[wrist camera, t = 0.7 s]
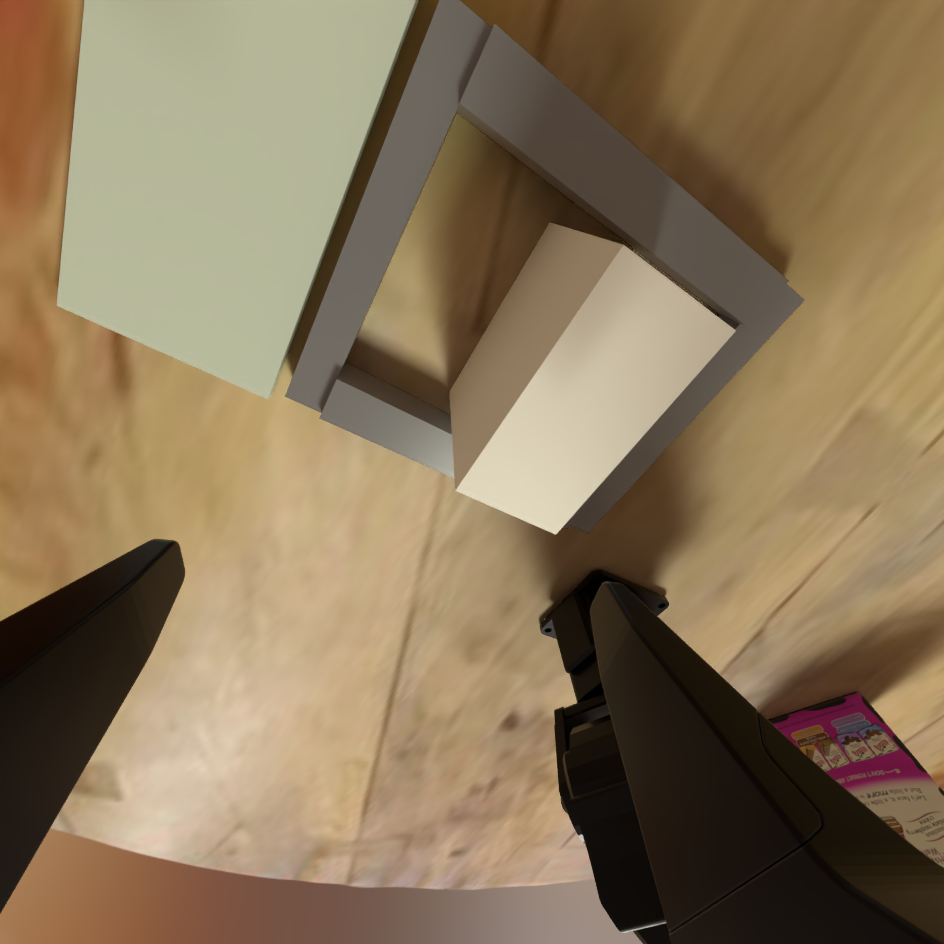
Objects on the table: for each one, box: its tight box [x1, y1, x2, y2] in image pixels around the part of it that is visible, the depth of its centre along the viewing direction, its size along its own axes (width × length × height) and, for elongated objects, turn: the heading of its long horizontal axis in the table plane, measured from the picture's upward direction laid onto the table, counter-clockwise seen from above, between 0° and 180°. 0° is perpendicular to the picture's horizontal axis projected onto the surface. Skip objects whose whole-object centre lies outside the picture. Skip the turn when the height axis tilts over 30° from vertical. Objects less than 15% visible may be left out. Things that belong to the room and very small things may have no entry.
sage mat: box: [57, 0, 419, 399], centre depth 15 cm, size 8×16×1 cm, turn 149°
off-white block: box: [449, 223, 736, 535], centre depth 16 cm, size 4×8×8 cm, turn 149°
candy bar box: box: [770, 693, 944, 867], centre depth 34 cm, size 11×5×16 cm, turn 120°
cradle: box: [285, 0, 804, 533], centre depth 18 cm, size 17×14×2 cm
